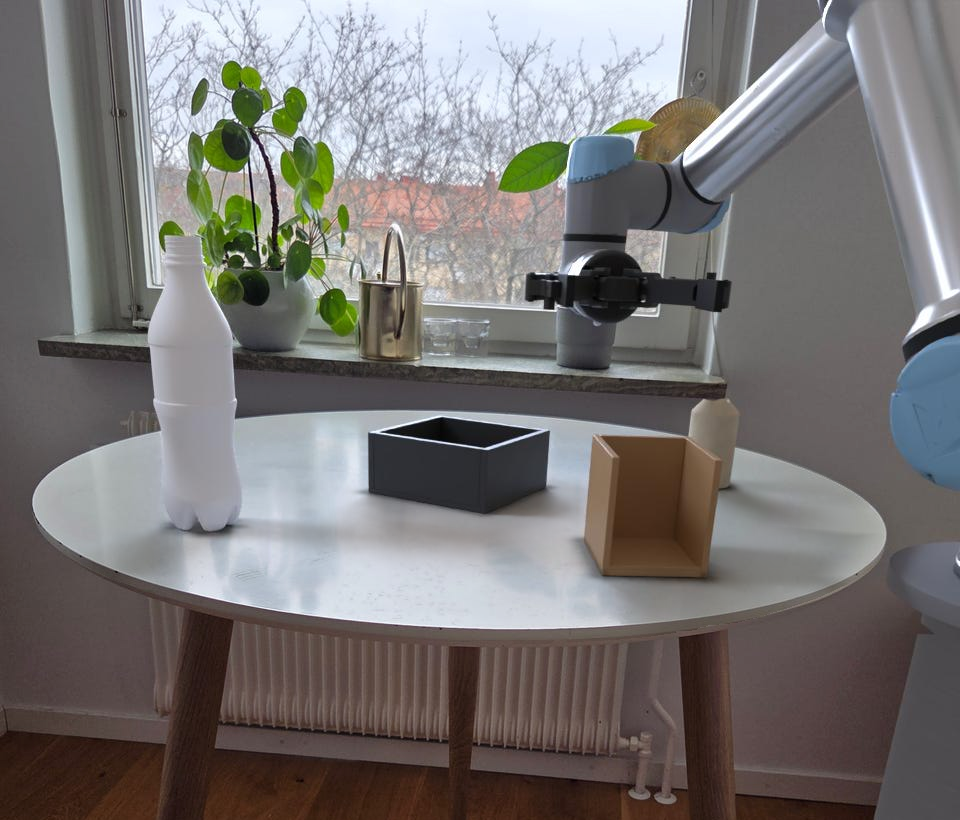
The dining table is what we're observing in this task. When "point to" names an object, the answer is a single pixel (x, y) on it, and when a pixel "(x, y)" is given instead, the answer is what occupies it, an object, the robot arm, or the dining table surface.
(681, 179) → the robot arm
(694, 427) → the cream bottle
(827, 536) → the dining table surface
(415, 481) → the basket
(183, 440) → the water bottle
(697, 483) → the box
